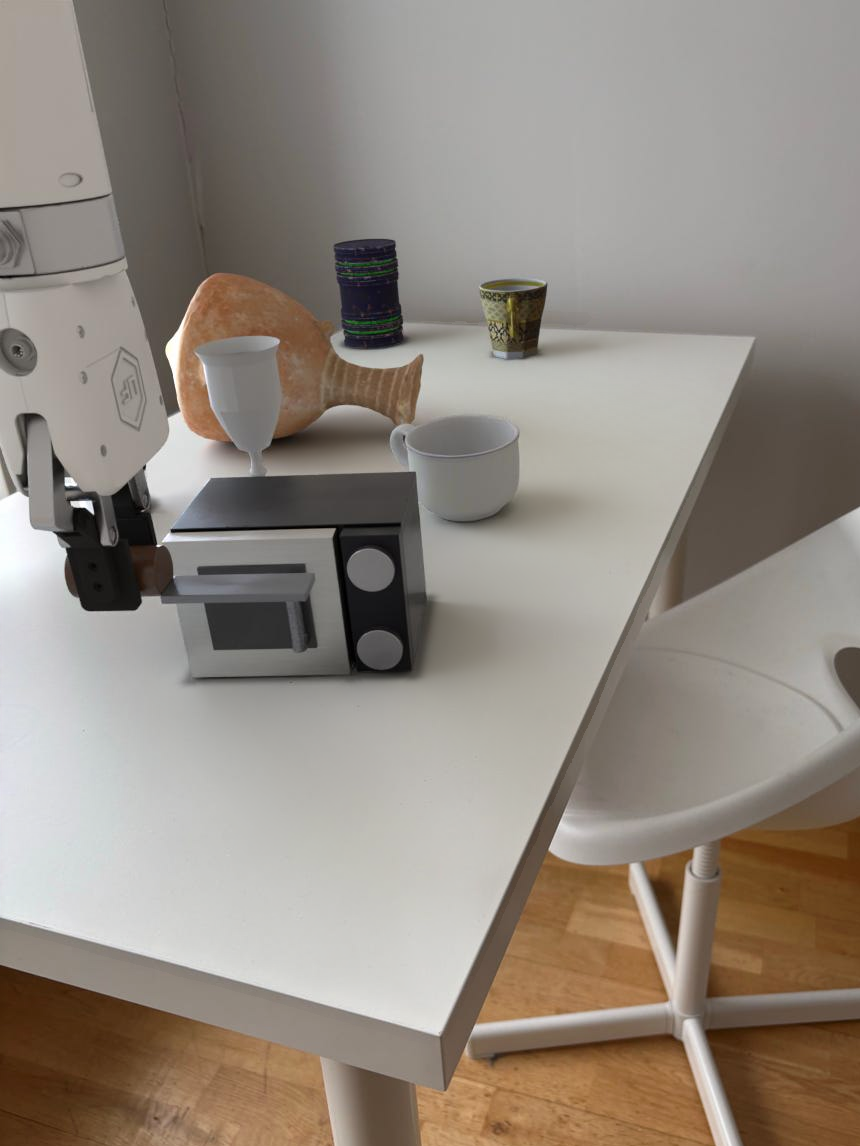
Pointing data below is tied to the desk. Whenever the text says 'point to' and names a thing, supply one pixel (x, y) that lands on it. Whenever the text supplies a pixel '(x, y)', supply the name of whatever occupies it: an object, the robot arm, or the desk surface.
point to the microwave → (341, 546)
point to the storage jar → (369, 293)
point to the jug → (281, 359)
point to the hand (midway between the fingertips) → (124, 590)
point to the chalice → (244, 391)
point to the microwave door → (265, 605)
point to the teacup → (461, 463)
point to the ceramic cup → (514, 315)
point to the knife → (206, 582)
